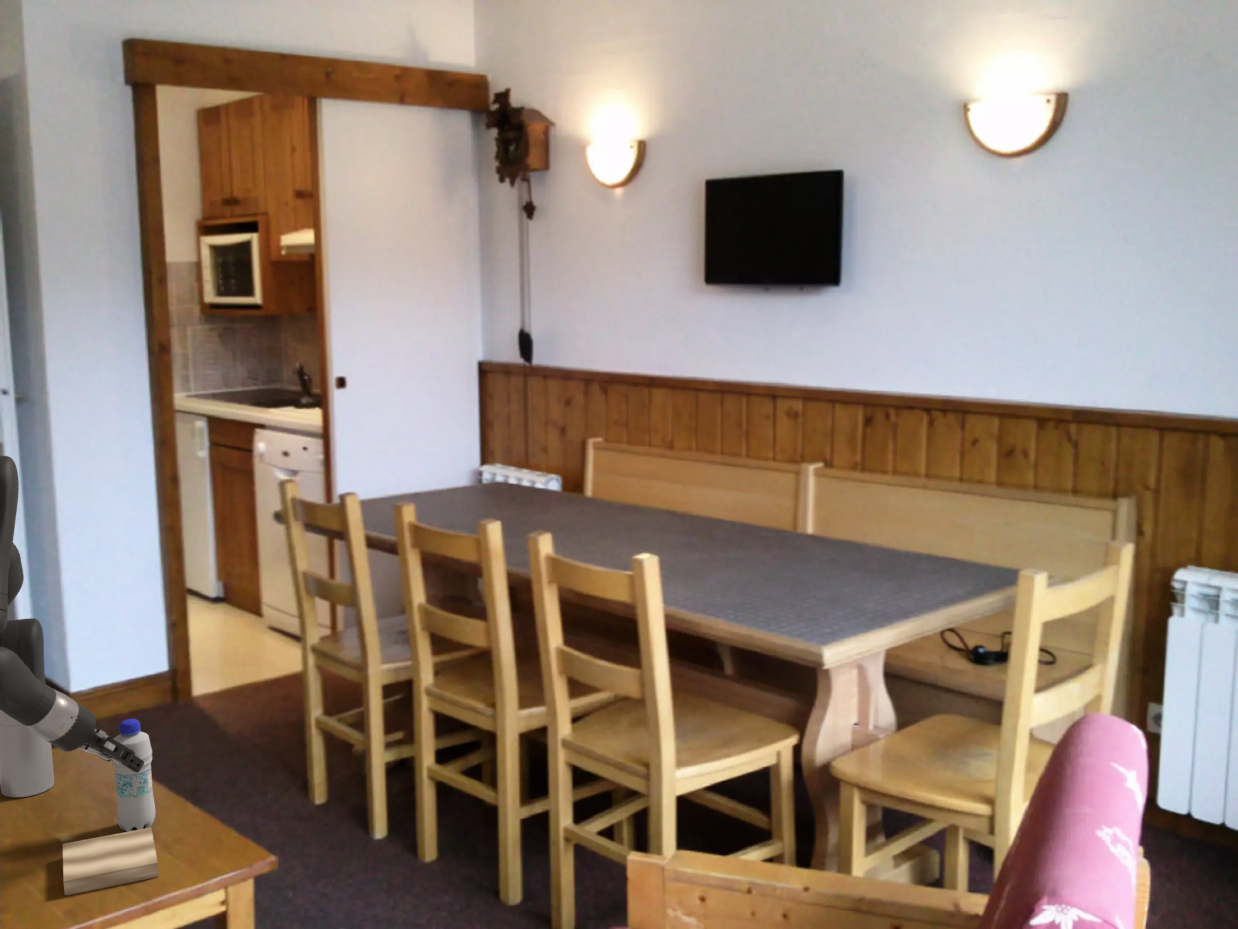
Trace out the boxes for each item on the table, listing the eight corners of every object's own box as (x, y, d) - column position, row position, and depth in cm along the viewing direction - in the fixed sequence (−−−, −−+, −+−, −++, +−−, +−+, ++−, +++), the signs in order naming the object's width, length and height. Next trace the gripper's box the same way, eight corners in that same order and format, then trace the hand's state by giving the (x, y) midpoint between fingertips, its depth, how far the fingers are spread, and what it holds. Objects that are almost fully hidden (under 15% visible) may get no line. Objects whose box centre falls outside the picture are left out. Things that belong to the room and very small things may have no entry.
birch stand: (63, 857, 203) (62, 844, 203) (152, 841, 209) (151, 827, 208) (64, 896, 191) (63, 881, 190) (158, 876, 196) (157, 862, 196)
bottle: (161, 829, 213) (153, 722, 210) (120, 839, 210) (112, 729, 207) (153, 815, 219) (145, 710, 216) (114, 824, 215) (105, 717, 212)
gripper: (96, 708, 198) (162, 751, 209) (49, 691, 206) (115, 734, 217) (68, 749, 195) (137, 791, 206) (21, 730, 203) (90, 772, 214)
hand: (126, 762), depth 211 cm, fingers open, 8 cm apart
